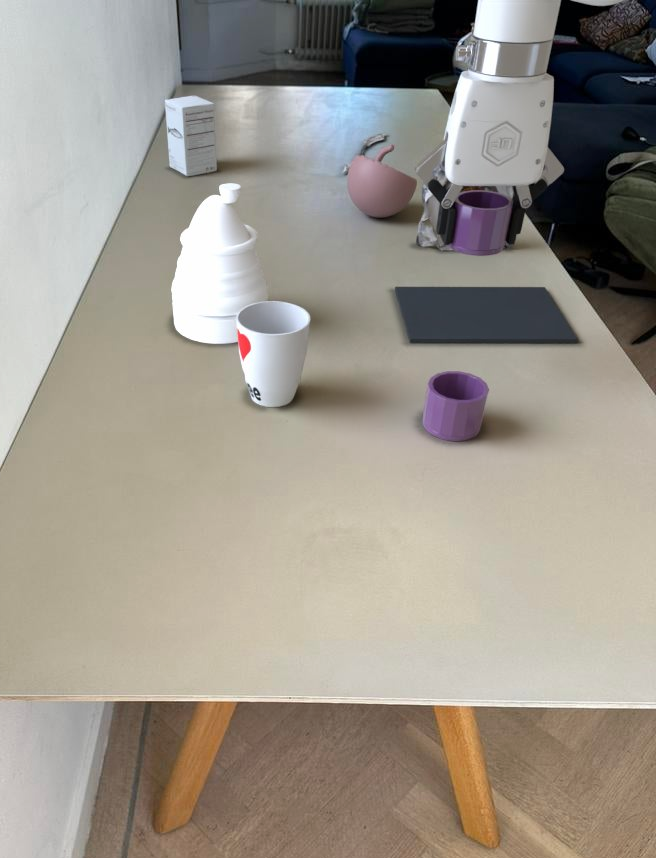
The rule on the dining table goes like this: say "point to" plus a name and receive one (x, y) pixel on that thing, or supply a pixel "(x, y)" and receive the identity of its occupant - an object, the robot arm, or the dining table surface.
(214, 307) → the honey pot
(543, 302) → the mat
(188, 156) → the white packaging box
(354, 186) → the mortar and pestle
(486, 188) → the meal
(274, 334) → the cup
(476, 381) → the purple faceted cup
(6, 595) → the dining table surface
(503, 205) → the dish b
